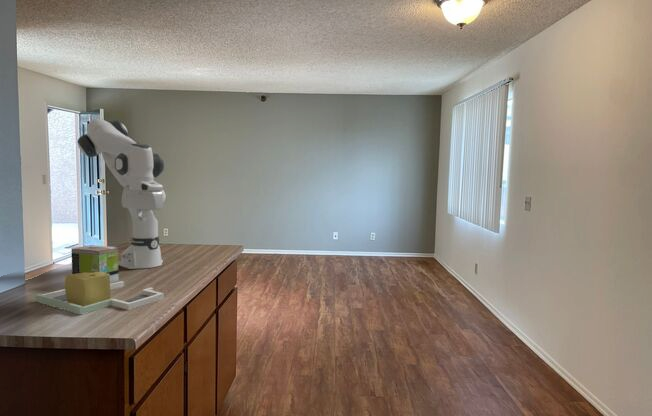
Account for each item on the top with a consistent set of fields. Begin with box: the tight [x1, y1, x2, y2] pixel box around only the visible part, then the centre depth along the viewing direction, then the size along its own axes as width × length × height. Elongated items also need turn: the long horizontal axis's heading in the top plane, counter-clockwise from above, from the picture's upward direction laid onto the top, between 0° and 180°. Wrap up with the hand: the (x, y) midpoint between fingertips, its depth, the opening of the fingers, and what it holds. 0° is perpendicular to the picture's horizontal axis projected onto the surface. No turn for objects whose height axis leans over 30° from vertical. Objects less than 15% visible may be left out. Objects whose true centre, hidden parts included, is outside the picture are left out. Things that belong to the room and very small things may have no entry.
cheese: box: [64, 272, 111, 307], centre depth 143 cm, size 10×11×10 cm
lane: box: [34, 280, 165, 315], centre depth 146 cm, size 35×28×2 cm
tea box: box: [70, 244, 119, 284], centre depth 167 cm, size 15×10×15 cm
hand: (142, 220), depth 159 cm, fingers closed
